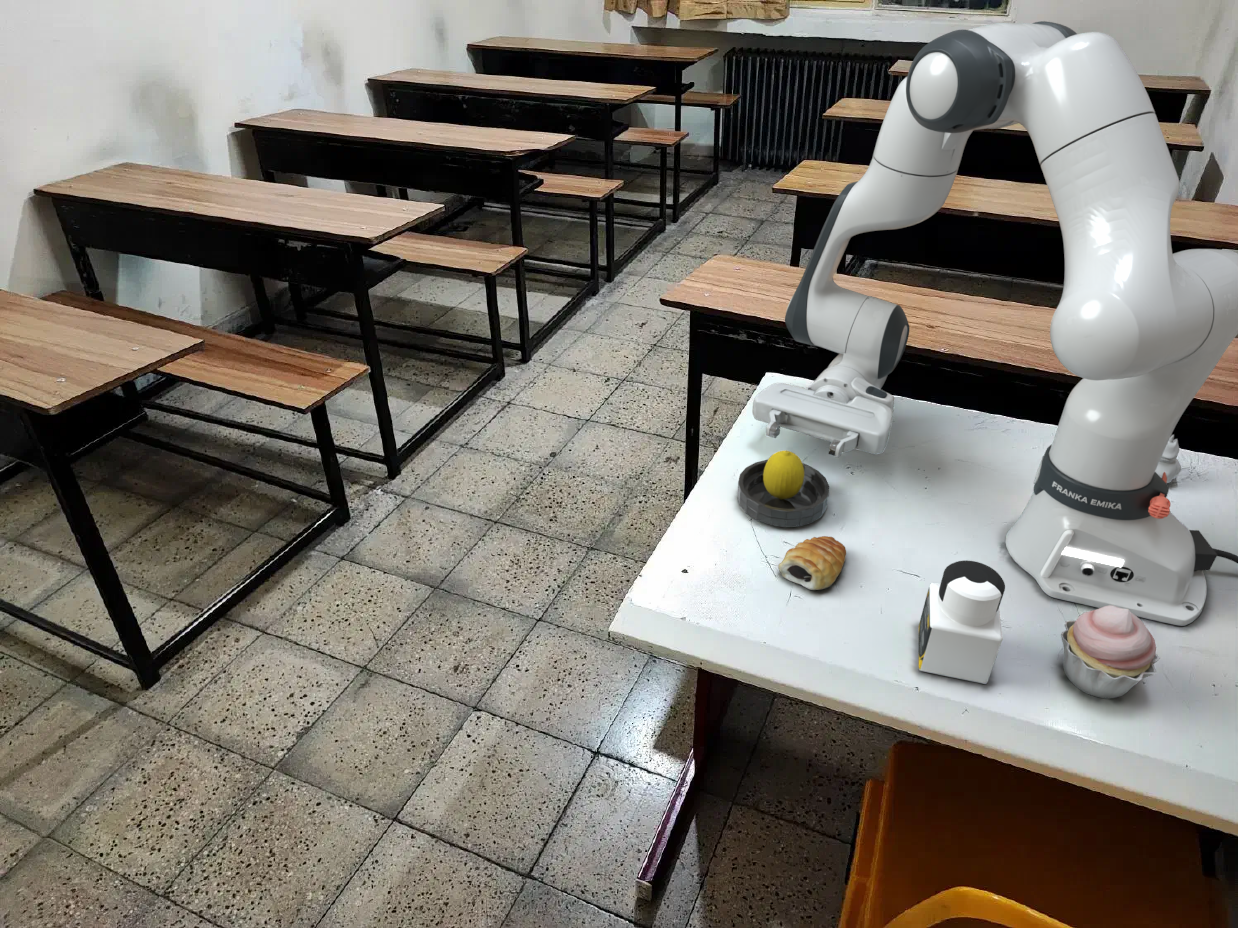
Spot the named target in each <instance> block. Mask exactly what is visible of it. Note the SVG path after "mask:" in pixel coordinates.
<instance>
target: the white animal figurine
mask: <svg viewBox="0 0 1238 928" xmlns="http://www.w3.org/2000/svg"><path fill="white" fill-rule="evenodd" d="M1179 445H1180V444H1179V440H1178V438H1175V434H1172V435H1171V437H1170V439H1169V441H1168V443H1167V446H1166V448H1165V450H1164V452H1163V455H1162V457H1161V459H1160V461H1159V464H1158V466H1157V468H1156V470H1155V472H1156V473H1157V474H1158V475H1159V476H1160V477H1161V478H1162V476H1163V473H1164V472H1165V473H1166V477H1167V482H1166V484H1169V483H1171V482H1172V481H1173V480H1174V479H1176V478H1177V477H1178V475H1179V474H1180V472H1181V469H1182V466H1181V463H1180V461H1179V460H1178V459H1177V458H1178V455H1179V452H1180V446H1179Z"/></svg>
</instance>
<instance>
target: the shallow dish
mask: <svg viewBox="0 0 1238 928" xmlns="http://www.w3.org/2000/svg"><path fill="white" fill-rule="evenodd" d="M767 461H768V459H763V460H761V461H755V462H753V463H752V464H750V465H748V466H747V467H745V468H744V469H743V470H742V471H741V472H740V474H739V477H738V482H737V491H736V492H737V493H736V498H737V502H738V505H739V507H740V508H741V509H742V510H743V512H744V513H745V514H746V515H748V516H749V517H750V518H752V519H754V520H756V521H758V522H761V523H763V524H766V525H768V526H774V527H780V528H794V527H802V526H805V525H809V524H812V523H815V522H816V521H817V520H819V519H821V518H822V517H823V515H824V514H825V512H826V511H827V509H828V502H829V496H830V484H829V482H828V480H827V478H826V476H824V475H823V474H822V472H820V471H819V470H818V469H817V468H814V467H813V466H811V465H808V464H807V463H804V462H802V464H803V467H804V480H803V484H802V487H801V489H800V490H799V492H798V493H797V494H796V495H794V496H793V497H790V498H787V499H779V498H776V497H774V496H772V495H771V494H770V493H769V492H768V491H767V489H766V487H765V485H764V480H763V473H764V468H765V465H766V463H767Z"/></svg>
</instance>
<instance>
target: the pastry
mask: <svg viewBox="0 0 1238 928" xmlns="http://www.w3.org/2000/svg"><path fill="white" fill-rule="evenodd" d="M846 555H847V550H846V547H845V545H844V544H843V543H842V542H840V541H839V540H837V539H835V537H833V536H826V535H823V536H818V537H816V536H813V537H811V538H810V539H809V538H805V539H804V540H803V541H801V542H798V543H797V544H796V545H795V546H794V547H792V548H789V549H788V550H787V551H786V553H785V555H784V557H783V559H782V561H781V562H780V563H779V564H778V566H777V567H778V571H779V572H780V573H781V576H782V577H783V578H784V579H786V580H788V581H790V582H792V583H794V584H797V585H801V586H803V587H804V588H806V589H808V590H811V591H816V590H818V591H821V590H824V589H827V588H829V587H831V586H832V585H833V584H834V583H835V581H836V580H837V578H838V576H839V575H840V574H841V572H842V569H843V567H844V564H845V561H846Z"/></svg>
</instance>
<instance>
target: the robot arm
mask: <svg viewBox="0 0 1238 928" xmlns="http://www.w3.org/2000/svg"><path fill="white" fill-rule="evenodd" d="M1018 124H1020V125H1021V126H1022V127H1023V128H1024V129H1025V130H1026V132H1027V133H1028V135H1029V137H1030V139H1031V141H1032V144H1033V147H1034V150H1035V153H1036V156H1037V159H1038V163H1039V166H1040V169H1041V171H1042V173H1043V177H1044V179H1045V183H1046V186H1047V189H1048V192H1049V195H1050V197H1051V201H1052V204H1053V207H1054V210H1055V213H1056V216H1057V219H1058V222H1059V226H1060V231H1061V236H1062V243H1063V254H1064V274H1063V275H1064V279H1063V289H1062V293H1061V297H1060V300H1059V302H1058V305H1057V306H1056V308H1055V310H1054V312H1053V315H1052V317H1051V321H1050V325H1049V339H1050V344H1051V347H1052V350H1053V353H1054V354H1055V356H1056V358H1057V360H1058V361H1059V363H1061V365H1062V367H1064V368H1065V369H1066V370H1068V371H1069V372H1070V373H1072V374H1073V375H1075V376H1077V377H1079V378H1082V379H1080V380H1079V381H1078V383H1077V384H1076V385H1075V386H1074V387H1073V388H1072V389H1071V391H1070V393H1069V395H1068V397H1067V398H1066V401H1065V403H1064V407H1063V410H1062V413H1061V416H1060V418H1059V422H1058V425H1057V427H1056V431H1055V433H1054V437H1053V439H1052V442H1051V444H1049V445H1048V446H1047V448H1046V450H1045V452H1044V454H1043V455H1042V457H1041V459H1040V462H1039V465H1038V468H1037V471H1036V474H1035V477H1034V481H1033V492H1032V494H1031V496H1030V498H1029V500H1028V502H1027V503H1026V506H1025V507H1024V508H1023V511H1022V512H1021V514H1020V515H1019V517H1018V518H1017V520H1016V521H1015V522H1014V524H1012V526H1011V527H1010V528H1009V529H1008V531H1007V533H1006V535H1005V547H1006V549H1007V552H1008V553H1009V555H1010V557H1011V558H1012V559H1013V561H1014V562H1015V563H1016V564H1017V565H1018V566H1019V567H1021V569H1023V570H1024V571H1025V572H1027V573H1028V574H1029V575H1030V576H1031V577H1032V578H1034V579H1035V581H1036V582H1037V584H1038V586H1039V587H1040V589H1041V590H1042V591H1043V593H1044V594H1045V595H1047V596H1049V597H1051V598H1054V599H1058V600H1062V601H1066V602H1071V603H1075V604H1079V605H1085V606H1089V607H1093V608H1097V609H1099V608H1102V607H1104V606H1109V605H1113V606H1117V607H1119V608H1122V609H1129V611H1130V612H1131V613H1132V614H1134V615H1136V616H1137V617H1138V618H1143V619H1147V620H1151V621H1156V622H1160V623H1165V624H1169V625H1174V626H1180V627H1183V626H1187V625H1189V624H1192V623H1193V622H1194V621H1195V620H1197V618H1199V616H1200V615H1201V613H1202V610H1203V608H1204V606H1205V603H1206V598H1207V589H1208V588H1207V587H1208V586H1207V580H1206V575H1205V573H1204V571H1207V572H1209V571H1210V570H1211V568H1212V566H1213V565H1214V562H1215V560H1216V558H1217V557H1220V558H1222V559H1227V560H1228V561H1232V562H1233V563H1236V564H1237V565H1238V555H1237V554H1235V553H1232V552H1230V551H1227V550H1226V551H1225V550H1222V549H1217V548H1213V547H1212V546H1211V544H1210V543H1209V541H1208V540H1207V539H1206V537H1205V536H1204V535H1203V534H1202V532H1201V531H1200V530H1198V529H1189V528H1188V527H1187V526H1186V525H1185V523H1183V522H1182V521H1181V520H1180V519H1179V518H1178V517H1177V516H1176V515H1175V514H1174V513H1173V512H1172V511H1171V508H1170V507H1171V501H1170V499H1168V495H1169V491H1170V489H1169V488H1170V487H1169V486H1170V485H1168V483H1166V482H1167V477H1166V473H1165V472H1164V473H1163V476H1162V478H1161V477H1160V476H1159V475H1158V474H1157V473H1156V472H1155V470H1156V468H1157V466H1158V464H1159V461H1160V459H1161V457H1162V455H1163V452H1164V450H1165V448H1166V446H1167V443H1168V441H1169V439H1170V437H1171V436H1172V435H1173V432H1174V431H1175V428H1176V426H1177V424H1178V422H1179V421H1180V419H1181V417H1182V415H1184V413H1185V411H1186V409H1187V408H1188V406H1189V405H1190V404H1191V402H1192V401H1193V399H1194V398H1195V397H1196V395H1197V394H1198V392H1199V391H1200V389H1201V388H1202V387H1203V385H1204V384H1205V382H1206V381H1207V379H1208V378H1209V377H1210V375H1211V374H1212V372H1213V370H1214V369H1215V368H1216V366H1217V365H1218V363H1219V361H1220V360H1221V358H1222V357H1223V355H1224V354H1225V352H1227V350H1228V348H1229V346H1230V345H1231V344H1232V342H1233V341H1234V340H1235V338H1236V337H1237V336H1238V252H1235V251H1232V250H1228V249H1217V248H1191V249H1185V250H1180V251H1177V252H1174V253H1173V248H1172V239H1171V237H1172V236H1171V235H1172V234H1171V216H1172V210H1173V206H1174V204H1175V201H1176V200H1177V197H1178V195H1179V192H1180V180H1179V179H1180V178H1179V175H1178V173H1177V169H1176V167H1175V164H1174V162H1173V158H1172V156H1171V153H1170V150H1169V147H1168V145H1167V143H1166V139H1165V136H1164V134H1163V131H1162V128H1161V126H1160V123H1159V120H1158V117H1157V114H1156V111H1155V109H1154V106H1153V104H1152V101H1151V99H1150V96H1149V93H1148V92H1147V90H1146V88H1145V85H1144V83H1143V81H1142V79H1141V78H1140V76H1139V73H1138V71H1137V70H1136V68H1135V66H1134V65H1133V63H1132V62H1131V60H1130V58H1129V57H1128V55H1127V54H1126V51H1125V50H1124V49H1123V47H1122V46H1121V44H1120V43H1119V42H1118V41H1117V39H1116V38H1114V37H1113V36H1112V35H1110V34H1108V33H1104V32H1101V31H1087V32H1082V33H1077V32H1076V31H1075V30H1073V29H1072V28H1070V27H1068V26H1067V25H1064V24H1061V23H1058V22H1054V21H1045V20H1043V21H1035V22H1032V23H1030V22H1016V23H1014V22H1013V23H1010V22H998V23H990V24H986V25H981V26H976V27H973V28H970V29H956V30H952V31H950V32H947V33H944V34H942V35H939V36H938V37H936V38H934V39H932V40H931V41H930V42H927V44H925V45H924V46H923V47H922V48H921V49H920V50H919V51H918V52H917V54H916V55H915V57H914V58H913V60H912V62H911V64H910V67H909V70H908V73H907V76H905V77H904V78H903V79H902V81H900V82H899V84H898V86H897V88H896V90H895V92H894V94H893V96H892V98H891V100H890V103H889V105H888V108H887V110H886V112H885V115H884V118H883V121H882V124H881V126H880V130H879V133H878V136H877V139H876V142H875V147H874V149H873V153H872V158H871V160H870V163H869V166H868V167H867V169H866V171H865V173H864V174H863V175H862V176H861V178H860V179H859V180H857V181H854V182H850V183H848V184H846V185H845V186H844V188H843V189H842V190H841V191H840V193H839V195H838V196H837V197H836V199H835V200H834V203H833V204H832V205H831V208H830V210H829V213H828V215H827V217H826V220H825V222H824V224H823V226H822V228H821V231H820V233H819V235H818V238H817V239H816V242H815V244H814V248H813V250H812V253H811V255H810V257H809V260H808V262H807V264H806V267H805V269H804V272H803V274H802V277H801V279H800V281H799V283H798V285H797V288H796V289H795V291H794V293H793V294H792V296H791V298H790V300H789V302H788V305H787V307H786V310H785V315H784V324H785V326H786V328H787V330H788V332H789V334H790V335H791V337H792V338H793V340H794V341H795V342H797V343H801V344H806V345H809V346H813V347H819V348H821V349H826V350H828V351H831V352H834V353H836V354H837V355H836V356H835V357H834V358H833V360H832V361H831V362H830V363H829V364H828V366H827V367H826V368H825V369H824V370H823V371H822V372H821V373H820V374H819V375H818V376H817V378H815V379H814V381H813V382H812V383H810V385H809V386H808V388H806V387H802V386H797V385H795V384H794V385H793V384H790V383H787V382H786V383H785V382H774V383H772V384H770V385H768V386H767V387H765V388H764V389H762V390H761V391H759V392H758V393H757V394H756V395H755V396H754V397H753V402H752V416H753V418H754V420H756V421H759V422H761V423H766V424H767V426H766V428H765V429H766V430H765V436H766V437H770V438H773V439H776V438H778V436H780V434H781V428H783V429H786V430H790V431H793V432H796V433H800V434H803V435H806V436H810V437H814V438H817V439H820V440H823V441H827V442H830V444H829V448H828V452H827V454H828V455H830V456H833V457H836V458H840V456H841V455H842V454H844V453H847V452H851V451H855V450H858V451H861V452H864V453H868V454H872V455H879V454H882V453H884V452H885V449H886V448H887V445H888V444H889V443H888V442H889V438H890V435H891V429H892V423H893V420H894V419H893V418H894V411H895V396H894V395H892V394H891V393H889V392H887V391H885V390H883V389H882V388H883V386H884V384H885V382H886V380H887V378H888V375H890V374H891V373H892V372H894V370H895V369H896V367H897V366H898V364H899V362H900V361H901V359H902V356H903V355H904V353H905V349H906V348H907V343H908V340H909V336H910V323H909V320H908V318H907V315H906V313H905V311H904V309H903V308H902V306H901V305H900V304H897V303H894V302H891V301H888V300H885V299H883V298H879V297H876V296H873V295H867V294H864V293H862V292H861V293H860V292H857V291H854V290H853V289H852V290H851V289H849V288H845V287H843V286H840V285H838V284H837V283H836V282H835V279H834V276H835V274H836V272H837V269H838V267H839V265H840V262H841V260H842V258H843V256H844V253H845V251H846V249H847V247H848V245H849V242H850V240H851V238H853V237H854V236H856V235H859V234H863V233H869V232H875V231H877V232H878V231H887V230H888V231H891V230H899V229H904V228H907V227H912V226H915V225H917V224H920V223H922V222H924V221H926V220H928V219H929V218H931V217H933V216H934V215H935V214H936V213H937V212H938V211H939V210H941V208H942V207H943V206H944V204H945V203H946V201H947V199H948V197H949V194H950V192H951V190H952V188H953V185H954V182H955V179H956V176H957V174H958V171H959V167H960V165H961V161H962V157H963V153H964V150H965V147H966V145H967V142H968V139H969V137H970V136H971V134H972V133H973V131H976V130H977V131H978V130H986V129H987V130H988V129H989V130H992V129H993V130H997V129H1003V128H1006V127H1011V126H1014V125H1018Z"/></svg>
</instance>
